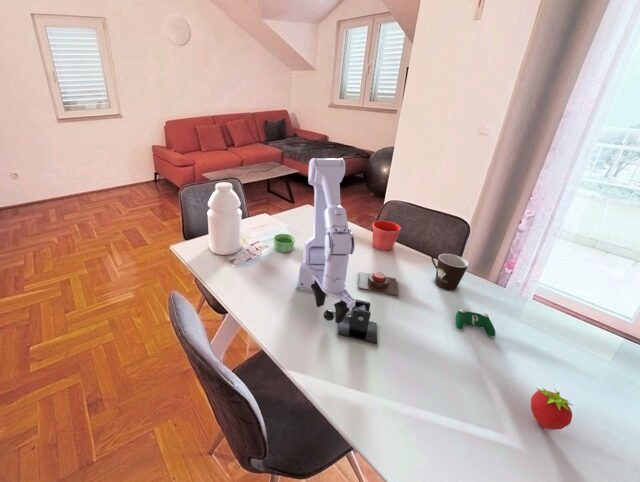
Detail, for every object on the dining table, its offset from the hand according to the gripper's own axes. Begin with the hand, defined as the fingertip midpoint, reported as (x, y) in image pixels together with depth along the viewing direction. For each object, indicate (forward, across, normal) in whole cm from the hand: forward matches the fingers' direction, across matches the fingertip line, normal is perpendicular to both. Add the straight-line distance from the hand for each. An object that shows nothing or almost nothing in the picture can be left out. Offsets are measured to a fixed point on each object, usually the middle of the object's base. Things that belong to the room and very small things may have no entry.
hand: (329, 313), depth 90 cm
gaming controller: (+4, -21, -36) cm, 41 cm away
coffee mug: (+4, -4, -50) cm, 50 cm away
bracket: (+4, -6, -5) cm, 9 cm away
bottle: (+4, +56, +6) cm, 56 cm away
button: (+1, +6, -28) cm, 29 cm away
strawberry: (+4, -43, -18) cm, 47 cm away
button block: (+4, +6, -28) cm, 29 cm away
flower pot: (+4, +24, -54) cm, 59 cm away
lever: (0, -4, -3) cm, 5 cm away
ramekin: (+4, +43, -15) cm, 46 cm away
